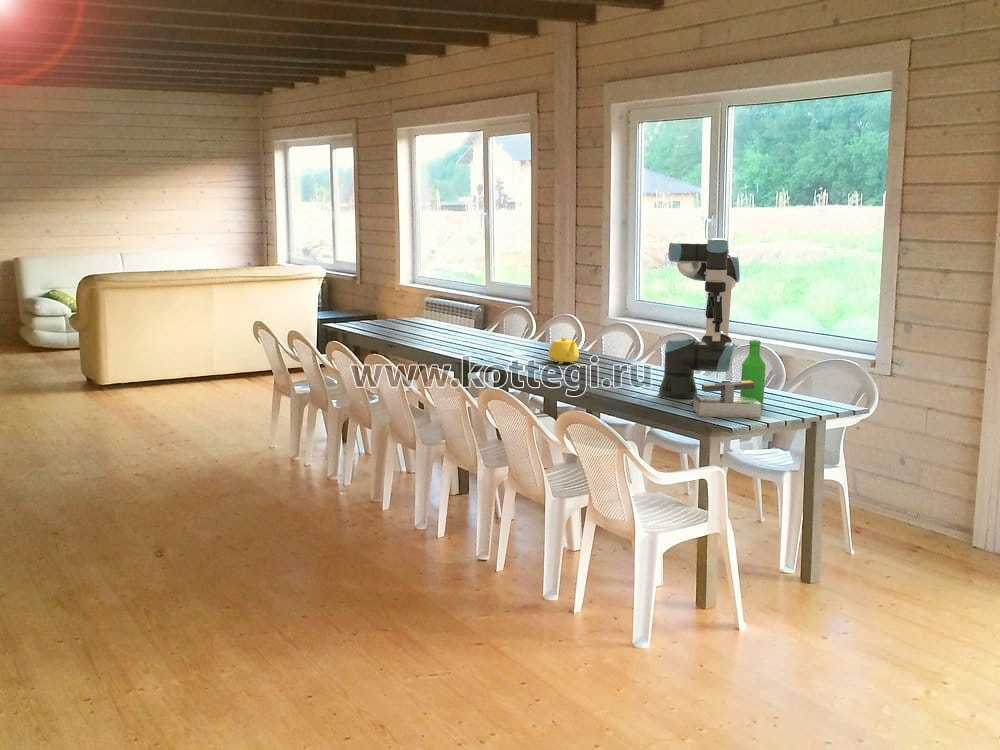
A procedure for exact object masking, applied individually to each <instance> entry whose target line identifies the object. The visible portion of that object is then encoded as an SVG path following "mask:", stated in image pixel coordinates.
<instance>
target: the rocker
mask: <svg viewBox="0 0 1000 750" xmlns="http://www.w3.org/2000/svg"><path fill="white" fill-rule="evenodd" d="M725 384H734V391H738V390H739V391H741V390H742V389H754V383H753V382H752V381H751V380H748V381H741V380H739V381H731V382H727V383H721V382H717V383H716V382H715V383H714V382H703V383H701V390H702V391H703V392H704V393H708V392H709V393H710V392H721V391H725Z"/></svg>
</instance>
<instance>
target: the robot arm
mask: <svg viewBox="0 0 1000 750" xmlns="http://www.w3.org/2000/svg"><path fill="white" fill-rule="evenodd" d="M728 241H729V240H728V239H727V238H709V239H707V242H701V241H700V242H699V241H698V242H697V241H695V242H693V241H692V242H690V241H689V242H688V241H671V242H670V243H669V245H668V261H669V262H671V263H672V262H674V263H677V264H676V266H677V269H678V271H679V273H680V274H681V275H683V276H684V277H686V278H688V279H690V280H694V281H699V282H705V283H704V291H705V292H707V302H706V308H705V314H704V315H705V317H706V320H705V334H703V336H702V337H701V341H699V340H698V341H697V339H696V337H694V336H683V337H681V336H680V337H673V338H669V339H668V340H667V341H666V342H665V349H664V370H663V378H662V381H661V383H660V386H659V389H658V395H659V396H660V397H663V398H666V399H667V398H668V399H675V400H677V399H678V400H679V399H680V400H685V399H689V400H690V399H694V393H695V394H696V395H697V396H698V389H697V385H696V382H695V381H696V380H695V377H694V375H695V373H694V372H695V371H696V372H697V371H699V372H700V371H701V372H714V373H715V372H717V373H728V372H729V371H730V370H731V368H732V366H733V361H734V356H735V349H736V345H735V343H734V342H732V341H733V340H732V338H731V337H730V336H729V331H730V330H729V328H730V317H731V316H730V315H731V314H730V312H731V303H732V302H731V301H732V289H734V288H735V287H736V284H737V283H740V279H741V278H740V277H741V276H740V274H741V273H740V261H739V257H738V255H737V254H735V253H729V252H730V251H729V242H728Z"/></svg>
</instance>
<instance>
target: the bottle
mask: <svg viewBox="0 0 1000 750" xmlns="http://www.w3.org/2000/svg"><path fill="white" fill-rule="evenodd" d="M748 345H749V353H748V355H747V357H746V358H745V359H744V360H743V362H742V365H741V374H740V375H741V376H740V381H748V380H751V381H752V382H753V383H754V389H742V390H740V394H739V395H740V396H739V397H754V398H755V399H756V400H757V401H758V402H759V403H761V406H763V404H764V396H765V384H766V383H765V381H766V365H767V364H766V363H765V361H764V360H763V358H762V356H761V354H760V353H761V345H762V342H761V340H760V339H749V343H748Z"/></svg>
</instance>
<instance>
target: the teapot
mask: <svg viewBox="0 0 1000 750" xmlns="http://www.w3.org/2000/svg"><path fill="white" fill-rule="evenodd" d="M579 355H580V353H579V349H578V345H577V343H576V340H571V339H568V337H566V336H561V339H553V341H552V342H551V344H550V347H549V350H548V357H549V359H550V360H551V361H552V362H553V361H558V362H557V363H558V364H559V363H569V362H571V363H573V362H577V361H578V359H579V358H580V357H579Z"/></svg>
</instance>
